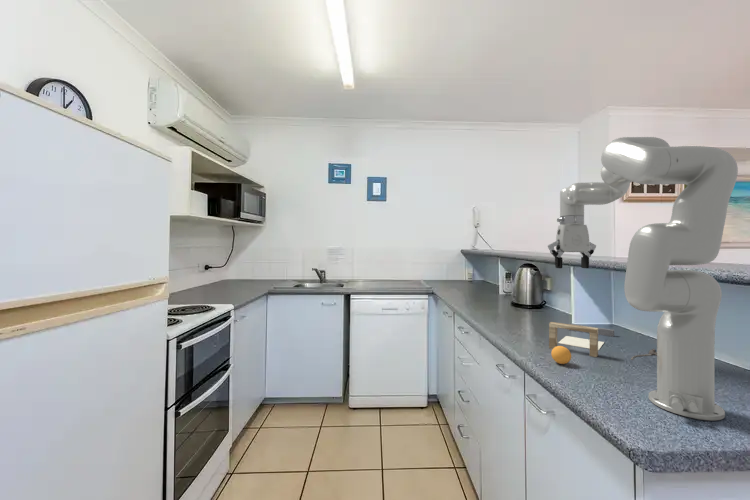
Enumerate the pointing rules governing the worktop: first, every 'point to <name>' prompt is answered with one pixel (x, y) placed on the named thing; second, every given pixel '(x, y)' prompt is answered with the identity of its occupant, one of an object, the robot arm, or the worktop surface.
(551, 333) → the bridge
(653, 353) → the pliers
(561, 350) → the ball
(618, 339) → the worktop surface
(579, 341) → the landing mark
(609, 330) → the wall
